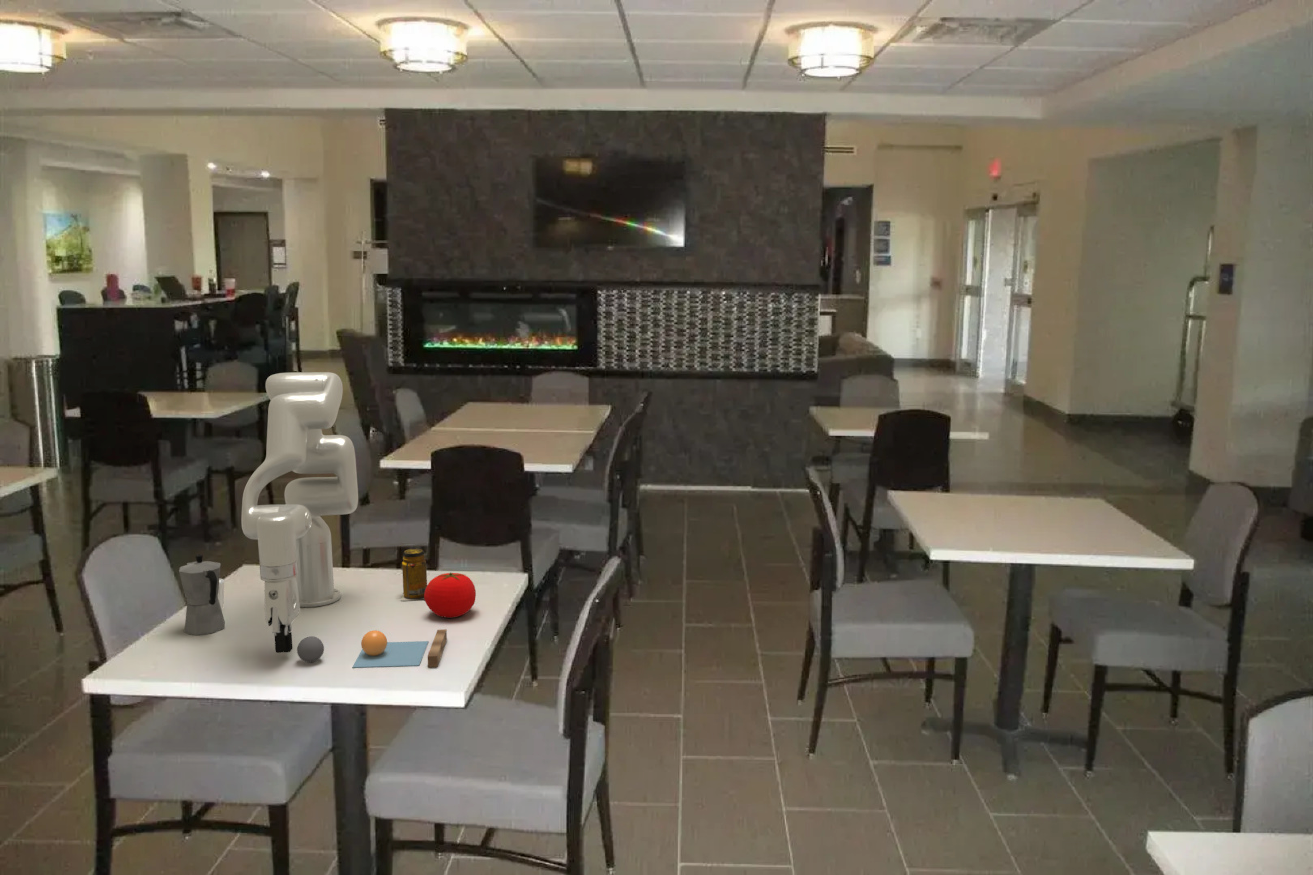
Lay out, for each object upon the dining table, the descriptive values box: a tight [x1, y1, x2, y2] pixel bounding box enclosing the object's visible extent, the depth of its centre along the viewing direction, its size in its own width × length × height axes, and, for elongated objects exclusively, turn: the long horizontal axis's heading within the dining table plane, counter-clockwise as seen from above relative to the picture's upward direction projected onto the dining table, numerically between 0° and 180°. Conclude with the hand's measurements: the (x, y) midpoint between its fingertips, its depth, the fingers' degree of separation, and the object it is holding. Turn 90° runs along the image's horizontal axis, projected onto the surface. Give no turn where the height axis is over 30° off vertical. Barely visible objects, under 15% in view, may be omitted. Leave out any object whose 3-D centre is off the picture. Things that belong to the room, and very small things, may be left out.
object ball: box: [360, 629, 388, 656], centre depth 227 cm, size 6×6×6 cm
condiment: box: [400, 548, 428, 602], centre depth 266 cm, size 7×8×12 cm
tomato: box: [423, 572, 477, 618], centre depth 252 cm, size 11×12×10 cm
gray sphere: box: [296, 636, 325, 663], centre depth 223 cm, size 6×6×6 cm
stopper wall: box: [427, 629, 448, 668], centre depth 228 cm, size 16×2×2 cm, turn 4°
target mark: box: [352, 640, 429, 669], centre depth 227 cm, size 14×14×1 cm
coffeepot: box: [178, 554, 226, 636], centre depth 241 cm, size 15×9×18 cm, turn 43°
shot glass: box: [218, 578, 225, 610], centre depth 257 cm, size 7×7×7 cm
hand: (284, 651), depth 225 cm, fingers closed
